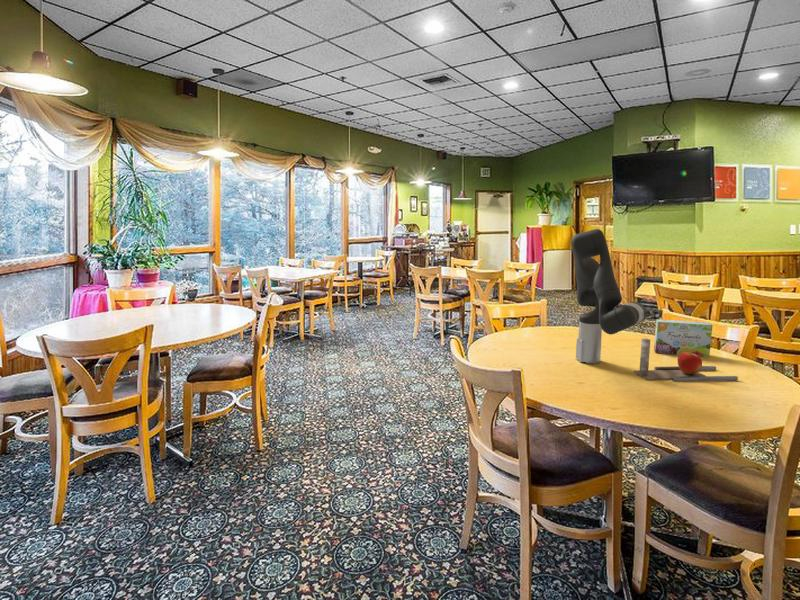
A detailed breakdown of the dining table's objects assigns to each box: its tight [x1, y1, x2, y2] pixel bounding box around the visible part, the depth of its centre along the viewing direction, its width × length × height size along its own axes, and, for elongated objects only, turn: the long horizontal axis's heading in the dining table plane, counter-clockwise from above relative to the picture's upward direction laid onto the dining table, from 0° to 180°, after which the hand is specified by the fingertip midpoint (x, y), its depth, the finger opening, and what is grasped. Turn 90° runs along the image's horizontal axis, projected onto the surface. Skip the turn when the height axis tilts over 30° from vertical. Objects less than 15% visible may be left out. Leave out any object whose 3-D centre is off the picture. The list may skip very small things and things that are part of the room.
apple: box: [677, 349, 703, 374], centre depth 182 cm, size 8×8×10 cm
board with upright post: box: [633, 338, 706, 381], centre depth 182 cm, size 24×10×15 cm, turn 89°
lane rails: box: [653, 365, 739, 382], centre depth 183 cm, size 24×14×2 cm, turn 89°
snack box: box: [653, 318, 713, 358], centre depth 211 cm, size 21×6×15 cm, turn 68°
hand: (643, 309), depth 171 cm, fingers open, 8 cm apart
